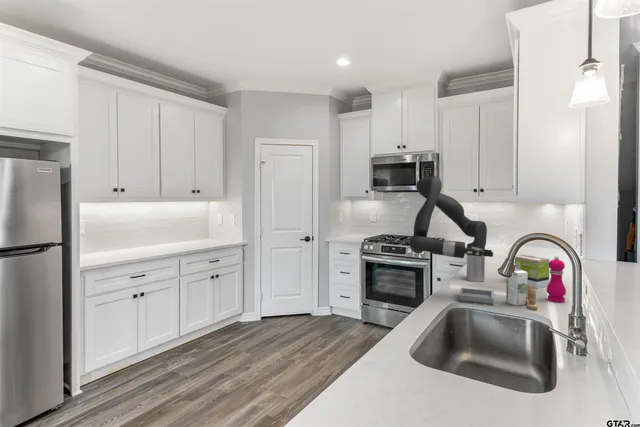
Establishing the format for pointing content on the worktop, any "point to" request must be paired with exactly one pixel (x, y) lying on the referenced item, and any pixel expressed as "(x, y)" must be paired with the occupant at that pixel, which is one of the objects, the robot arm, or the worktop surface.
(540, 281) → the tea box
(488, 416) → the worktop surface
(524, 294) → the syrup box
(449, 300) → the worktop surface
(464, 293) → the tray
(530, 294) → the bench stop
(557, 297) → the pepper mill
